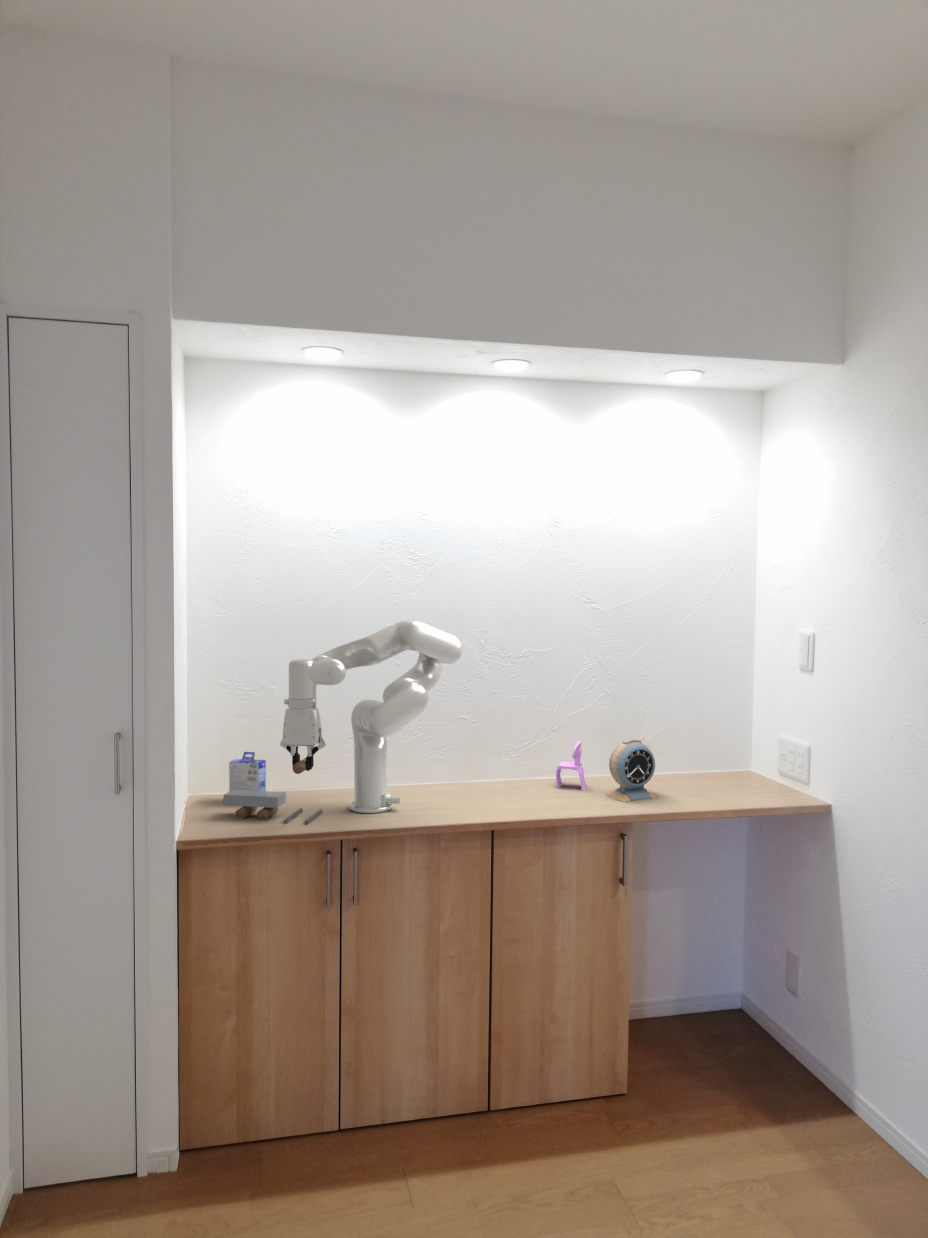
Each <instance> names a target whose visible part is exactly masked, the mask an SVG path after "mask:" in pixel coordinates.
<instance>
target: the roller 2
mask: <svg viewBox="0 0 928 1238" xmlns="http://www.w3.org/2000/svg"><path fill="white" fill-rule="evenodd" d="M278 811H279V807H278V808H268V807H262V808H260V810H258V811H257V812H256V818H257V819H258V820H259V821H266V820H267V819H268V818H270V817H272V816H273V815H274V814H276V813H277V812H278Z"/></svg>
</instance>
